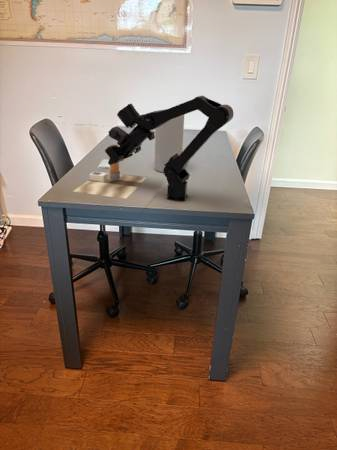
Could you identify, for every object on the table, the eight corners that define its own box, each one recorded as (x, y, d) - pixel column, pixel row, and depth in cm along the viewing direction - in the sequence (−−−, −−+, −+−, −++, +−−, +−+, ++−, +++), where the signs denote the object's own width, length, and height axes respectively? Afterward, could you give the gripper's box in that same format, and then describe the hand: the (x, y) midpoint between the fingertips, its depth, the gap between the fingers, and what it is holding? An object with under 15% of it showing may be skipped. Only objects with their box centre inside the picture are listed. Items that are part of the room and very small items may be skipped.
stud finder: (107, 178, 138) (107, 172, 137) (103, 181, 135) (103, 175, 133) (94, 177, 139) (93, 171, 138) (89, 180, 136) (89, 174, 135)
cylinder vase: (150, 166, 160) (151, 112, 149) (174, 164, 165) (177, 111, 153) (160, 174, 150) (161, 116, 139) (185, 172, 155) (189, 116, 143)
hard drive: (102, 158, 165) (97, 166, 154) (119, 159, 165) (115, 167, 154) (102, 162, 166) (97, 169, 155) (119, 162, 166) (115, 170, 155)
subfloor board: (146, 181, 142) (146, 177, 141) (126, 202, 121) (126, 198, 120) (100, 175, 146) (100, 171, 145) (73, 195, 125) (72, 191, 125)
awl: (122, 177, 135) (120, 145, 129) (115, 180, 132) (113, 147, 126) (114, 175, 137) (113, 143, 131) (107, 178, 134) (106, 145, 128)
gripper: (133, 116, 131) (110, 141, 139) (108, 124, 115) (84, 152, 124) (151, 139, 132) (127, 162, 141) (129, 150, 116) (103, 175, 125)
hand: (111, 162), depth 132 cm, fingers closed on awl, 3 cm apart
